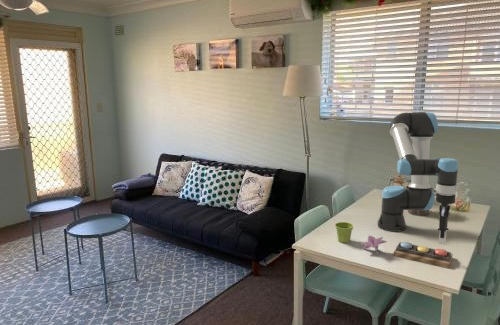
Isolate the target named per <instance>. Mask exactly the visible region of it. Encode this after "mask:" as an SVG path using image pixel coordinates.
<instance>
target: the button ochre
mask: <svg viewBox="0 0 500 325" xmlns="http://www.w3.org/2000/svg"><path fill="white" fill-rule="evenodd" d="M417 246H418V247H417V251H419V252H423V253H429V248H430V247H428V246H424V245H417Z"/></svg>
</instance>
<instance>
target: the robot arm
mask: <svg viewBox="0 0 500 325" xmlns="http://www.w3.org/2000/svg"><path fill="white" fill-rule="evenodd" d="M388 129H389V130H388V131H389V134H390V136H391V137H392V138H393V141H394V144H395V145H394V146H395V147H396V151H397V154H398V157H399V159H398V160H397V163H396V169H397V173H398V174H399V175H401V176H411V177H410V180H411V181H410V183H409V184H408V185H407V186H408V189H406V188H405V186H403V185H388V186H386V187H384V188H383V189H382V193H381V212H380V215H379V217H378V220H377V227H378V228H379V229H381V230H383V231H388V232H389V231H390V232H402V231H403V232H404V230H406V229H407V228H406V227H407V223H406V220H405V216H404V210H405V211H408V210H421V211H423V210H429V211H430V210H431V209H432V208H433V206H434V204H435V201H436V202H437V203H439V204H440V205H439V208H438V209H439V212H438V214H439V220H438V222H439V223H438V226H439V227H438V228H437V230H438V232H439V234H438V245H443V246H445V245H446V242H447V233H448V232H447V231H449V227H448V222H449V215H450V210H451V205H452V204H455V202H456V194H457V193H456V192H457V190H458V189H459V188H458V187H457V181H458V173H459V172H458V170H459V162H458V160H457V159H455V158H451V157H450V158H449V157H442V158H440V157H435V158H432V159H431V158H430V149H431V148H430V147H431V140H432V139H433V138H434V135H435V134H437V133H438V129H439V123H438V118H437V116H436V114H435V113H434V112H428V111H424V112H423V111H422V112H421V111H420V112H408V111H407V112H401V113H399V114H397V115H396V116H394V117H393V118H392V119H391V121H390V123H389V127H388ZM429 176H432V177H433V176H437V180H436V190H434V191H433V190H432V189H431V187H432V186H431V185H430V184H429ZM435 191H436V195H435Z"/></svg>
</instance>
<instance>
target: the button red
mask: <svg viewBox="0 0 500 325" xmlns="http://www.w3.org/2000/svg"><path fill="white" fill-rule="evenodd" d="M434 249H435V254H436V255H438V256H443V257H445V256H447V252H448V251H447V250H446V249H443V248H434Z"/></svg>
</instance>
